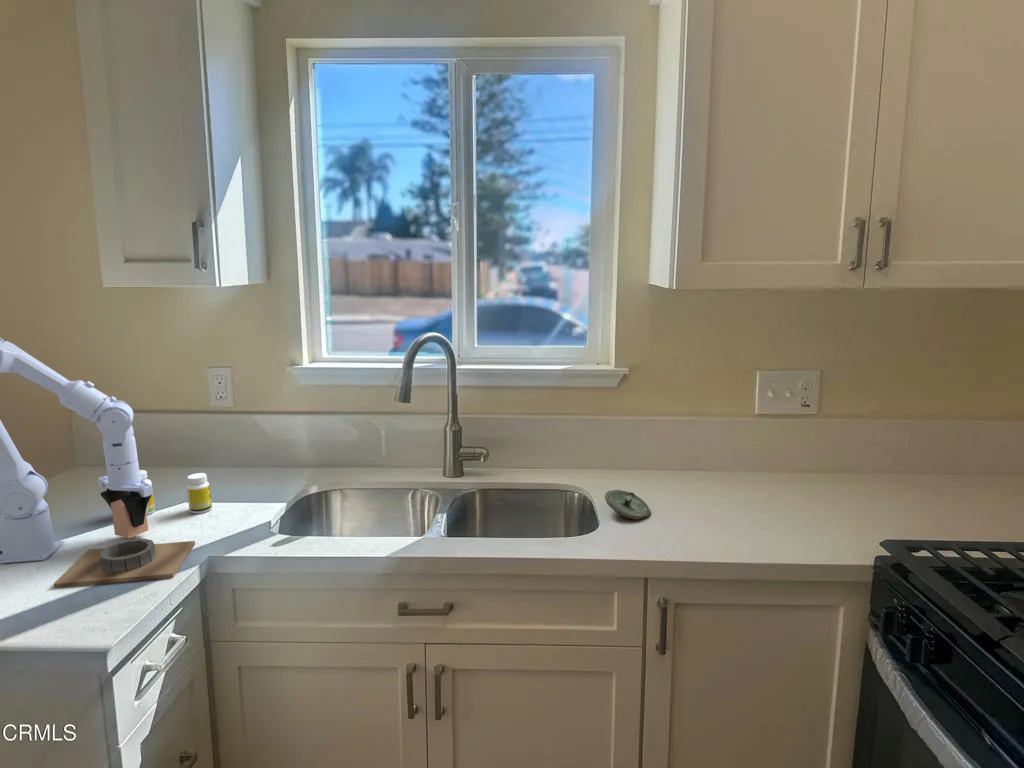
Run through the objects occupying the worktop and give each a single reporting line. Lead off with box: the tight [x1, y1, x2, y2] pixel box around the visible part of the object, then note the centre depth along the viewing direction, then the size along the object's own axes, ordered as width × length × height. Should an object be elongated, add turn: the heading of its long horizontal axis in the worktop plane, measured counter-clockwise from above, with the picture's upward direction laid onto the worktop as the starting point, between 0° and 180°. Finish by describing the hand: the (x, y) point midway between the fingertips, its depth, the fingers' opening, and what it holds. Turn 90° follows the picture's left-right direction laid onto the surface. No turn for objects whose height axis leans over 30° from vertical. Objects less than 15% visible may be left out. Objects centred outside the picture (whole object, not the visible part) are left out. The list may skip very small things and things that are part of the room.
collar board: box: [53, 537, 196, 589], centre depth 128 cm, size 20×14×3 cm
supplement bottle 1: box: [139, 469, 156, 516], centre depth 153 cm, size 5×5×10 cm
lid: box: [604, 489, 651, 521], centre depth 149 cm, size 11×10×5 cm
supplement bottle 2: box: [186, 472, 213, 515], centre depth 154 cm, size 5×5×8 cm
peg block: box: [110, 499, 149, 540], centre depth 140 cm, size 4×4×7 cm
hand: (130, 523), depth 140 cm, fingers closed on peg block, 4 cm apart
